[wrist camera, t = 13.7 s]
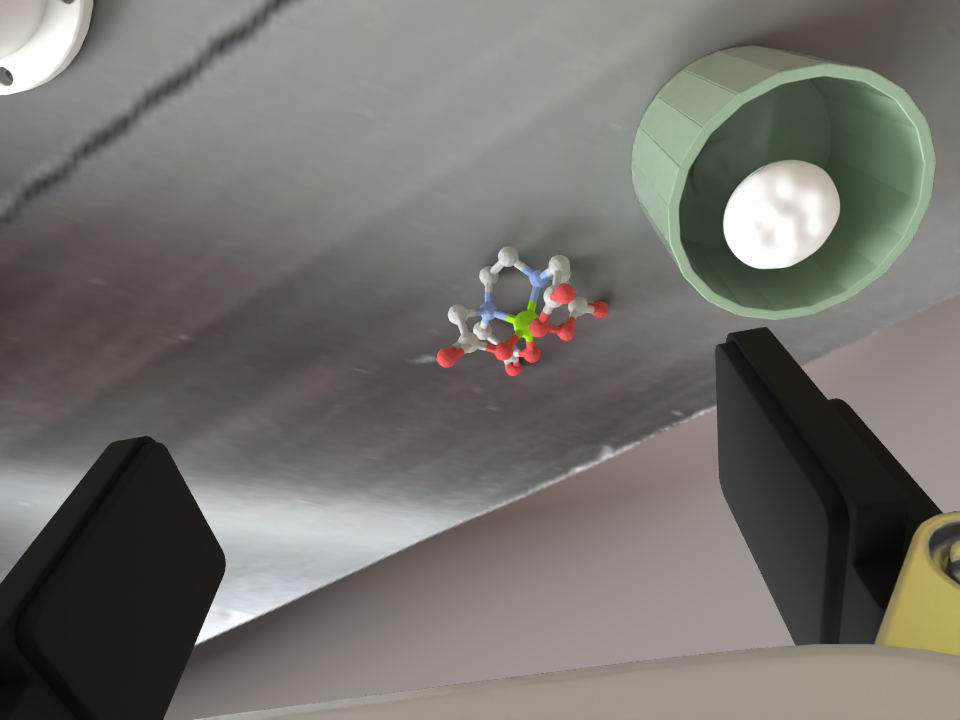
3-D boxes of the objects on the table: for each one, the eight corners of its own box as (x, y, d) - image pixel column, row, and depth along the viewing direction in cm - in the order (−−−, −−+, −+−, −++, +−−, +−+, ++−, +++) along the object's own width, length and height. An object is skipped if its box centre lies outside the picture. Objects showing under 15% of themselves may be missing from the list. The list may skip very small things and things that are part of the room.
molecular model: (431, 292, 39) (417, 353, 33) (541, 209, 36) (550, 256, 30) (507, 376, 42) (508, 448, 35) (614, 304, 39) (637, 367, 33)
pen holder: (623, 68, 33) (661, 94, 25) (841, 25, 32) (954, 38, 24) (638, 263, 38) (674, 335, 30) (828, 231, 37) (917, 298, 29)
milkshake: (735, 90, 33) (821, 128, 24) (784, 177, 35) (879, 242, 26) (654, 148, 34) (707, 205, 25) (705, 229, 36) (771, 307, 27)
